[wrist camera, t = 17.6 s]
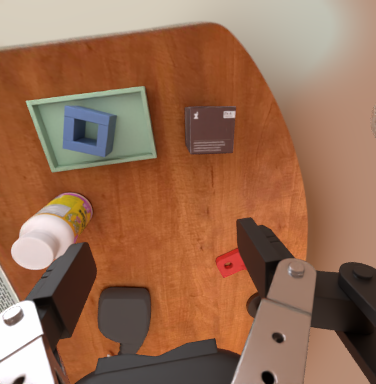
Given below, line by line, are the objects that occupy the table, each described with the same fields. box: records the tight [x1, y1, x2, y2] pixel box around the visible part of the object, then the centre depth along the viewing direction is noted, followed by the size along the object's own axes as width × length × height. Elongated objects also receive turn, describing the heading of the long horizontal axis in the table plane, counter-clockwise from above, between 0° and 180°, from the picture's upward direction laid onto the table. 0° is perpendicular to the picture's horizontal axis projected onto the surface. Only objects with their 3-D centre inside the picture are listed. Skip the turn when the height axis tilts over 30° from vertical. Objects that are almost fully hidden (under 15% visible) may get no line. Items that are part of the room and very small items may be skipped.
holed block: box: [63, 106, 117, 157], centre depth 31 cm, size 6×6×4 cm
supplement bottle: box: [11, 193, 93, 270], centre depth 32 cm, size 7×7×13 cm
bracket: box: [216, 248, 247, 278], centre depth 41 cm, size 12×4×8 cm, turn 116°
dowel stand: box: [247, 293, 261, 318], centre depth 45 cm, size 8×8×12 cm
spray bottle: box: [98, 287, 151, 357], centre depth 48 cm, size 3×11×24 cm
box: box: [185, 106, 236, 154], centre depth 32 cm, size 6×6×7 cm
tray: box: [26, 86, 157, 172], centre depth 33 cm, size 16×10×2 cm, turn 97°
